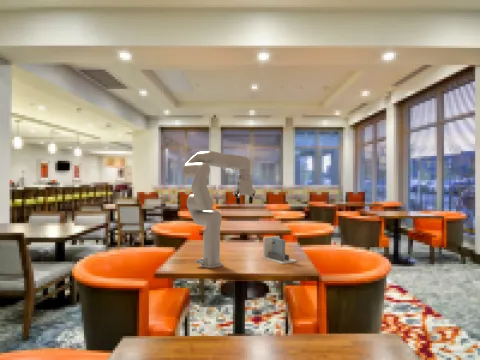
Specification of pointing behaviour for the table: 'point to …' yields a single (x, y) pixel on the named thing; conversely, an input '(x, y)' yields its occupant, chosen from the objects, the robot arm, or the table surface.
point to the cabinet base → (271, 256)
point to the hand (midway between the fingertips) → (244, 203)
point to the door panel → (278, 247)
